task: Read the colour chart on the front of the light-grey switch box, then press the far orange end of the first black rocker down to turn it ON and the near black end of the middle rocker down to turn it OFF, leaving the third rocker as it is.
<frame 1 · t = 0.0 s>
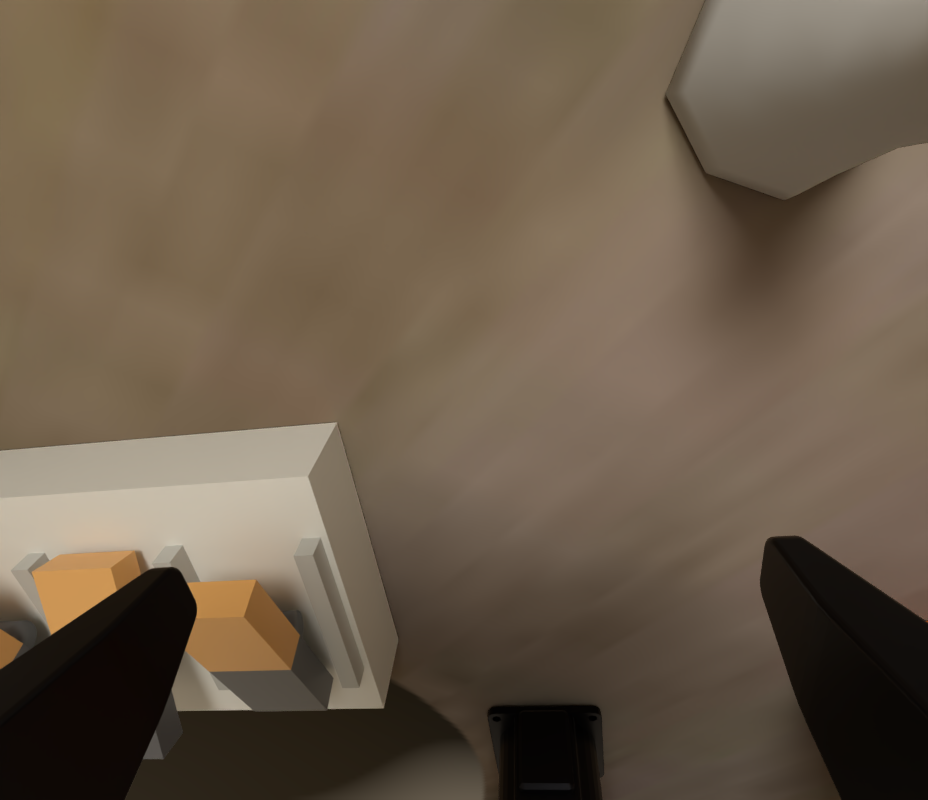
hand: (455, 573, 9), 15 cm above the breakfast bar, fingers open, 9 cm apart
rocker a: (258, 641, 24), point 6 cm above the breakfast bar, hinge at -15.0°
rocker b: (119, 649, 25), point 6 cm above the breakfast bar, hinge at 15.0°
switch box: (185, 553, 30), on the breakfast bar
flask: (789, 70, 18), on the breakfast bar
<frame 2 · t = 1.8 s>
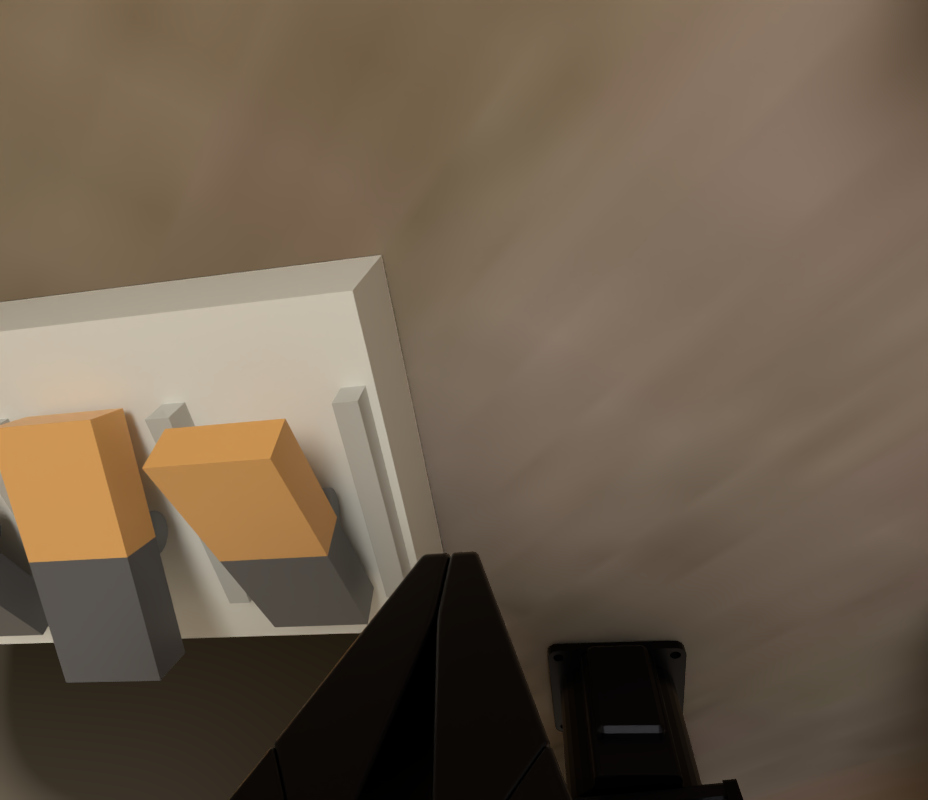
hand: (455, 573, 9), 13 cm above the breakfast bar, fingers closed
rocker a: (283, 525, 18), point 6 cm above the breakfast bar, hinge at -15.0°
rocker b: (104, 542, 19), point 6 cm above the breakfast bar, hinge at 15.0°
switch box: (188, 446, 24), on the breakfast bar
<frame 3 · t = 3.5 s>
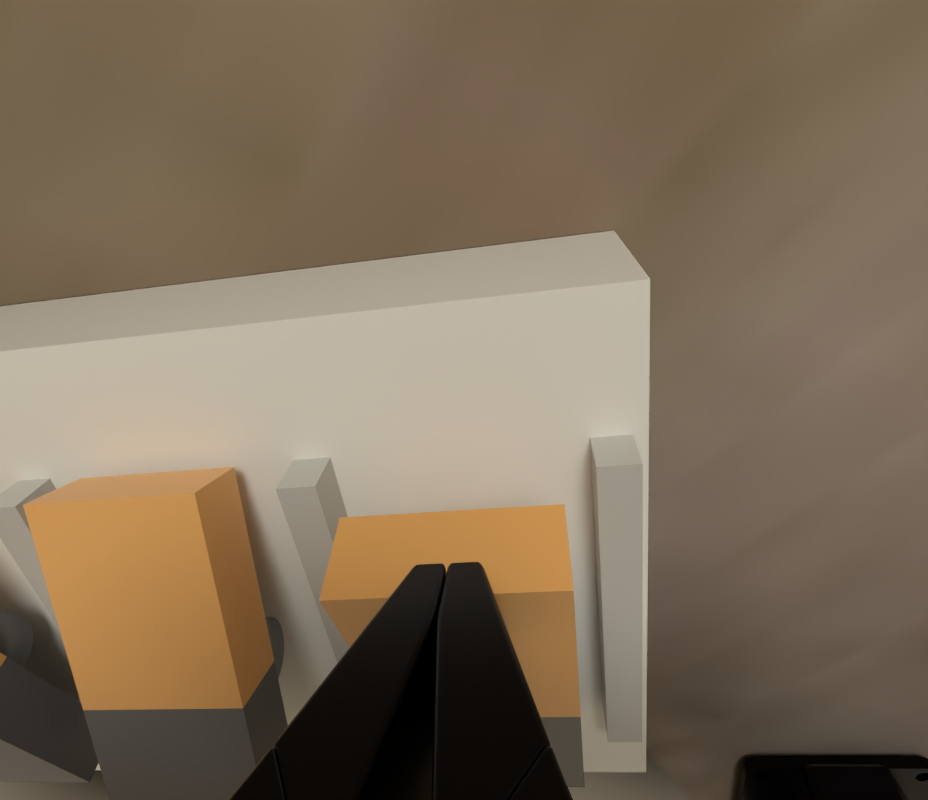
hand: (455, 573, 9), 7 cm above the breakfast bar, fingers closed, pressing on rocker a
rocker a: (486, 653, 12), point 6 cm above the breakfast bar, hinge at -14.7°, touching gripper
rocker b: (195, 668, 13), point 6 cm above the breakfast bar, hinge at 15.0°
switch box: (286, 502, 18), on the breakfast bar
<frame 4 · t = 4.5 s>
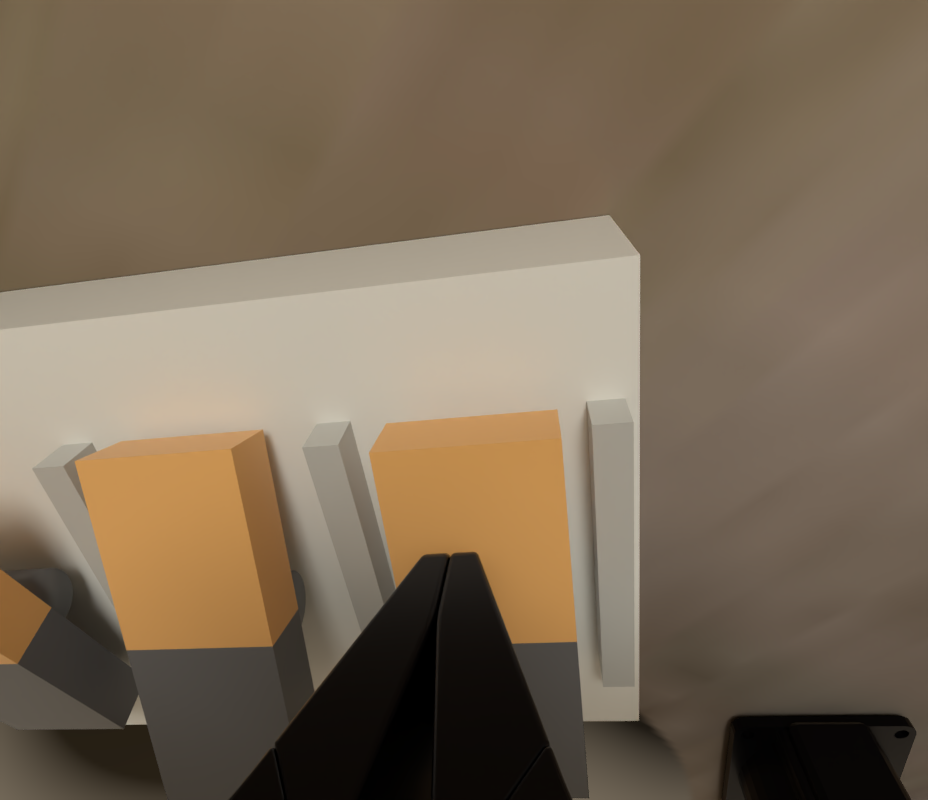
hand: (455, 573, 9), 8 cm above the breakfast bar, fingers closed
rocker a: (493, 604, 13), point 6 cm above the breakfast bar, hinge at 7.8°
rocker b: (226, 616, 14), point 6 cm above the breakfast bar, hinge at 15.0°
switch box: (303, 473, 19), on the breakfast bar
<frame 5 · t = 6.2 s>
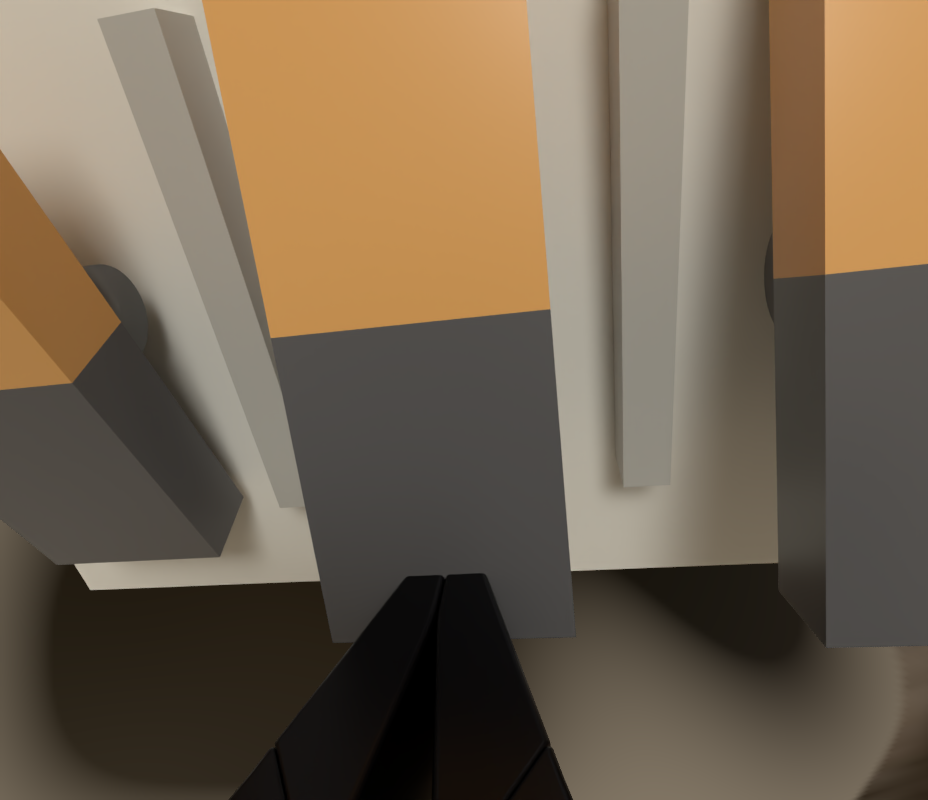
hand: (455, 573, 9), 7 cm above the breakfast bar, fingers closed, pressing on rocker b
rocker a: (927, 262, 7), point 6 cm above the breakfast bar, hinge at 19.0°
rocker c: (13, 341, 9), point 6 cm above the breakfast bar, hinge at -15.0°
rocker b: (423, 312, 8), point 6 cm above the breakfast bar, hinge at 13.7°, touching gripper
switch box: (459, 220, 13), on the breakfast bar
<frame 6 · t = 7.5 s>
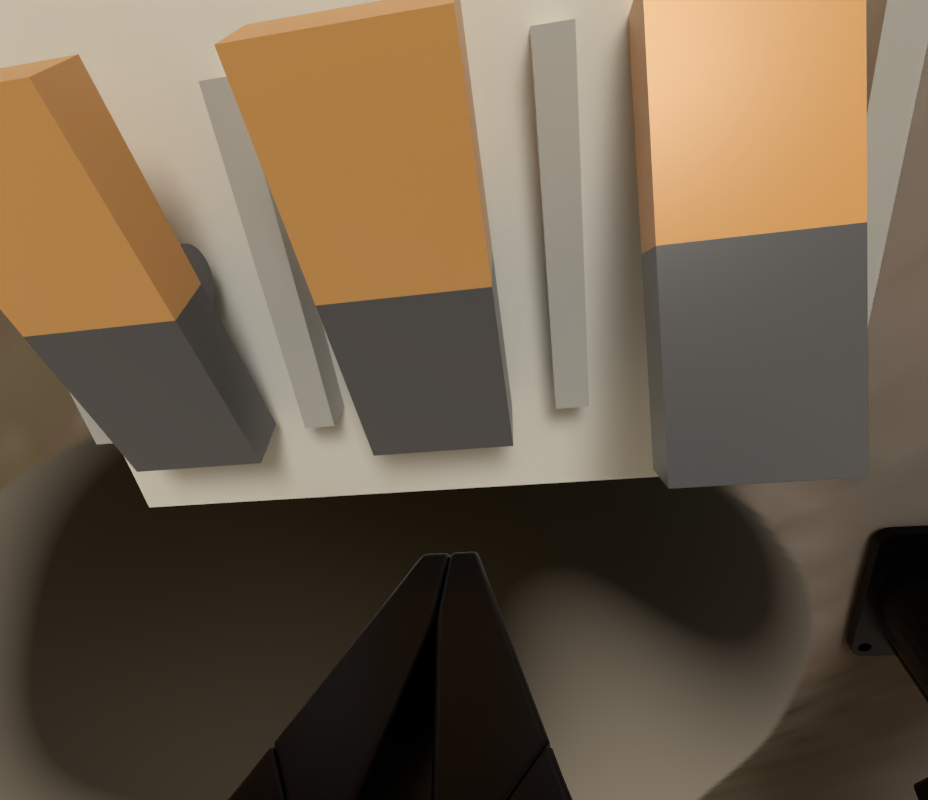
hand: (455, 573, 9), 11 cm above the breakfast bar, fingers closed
rocker a: (735, 243, 11), point 6 cm above the breakfast bar, hinge at 20.4°, touching switch box
rocker c: (125, 296, 13), point 6 cm above the breakfast bar, hinge at -15.0°
rocker b: (408, 264, 12), point 6 cm above the breakfast bar, hinge at -14.9°
switch box: (440, 217, 17), on the breakfast bar
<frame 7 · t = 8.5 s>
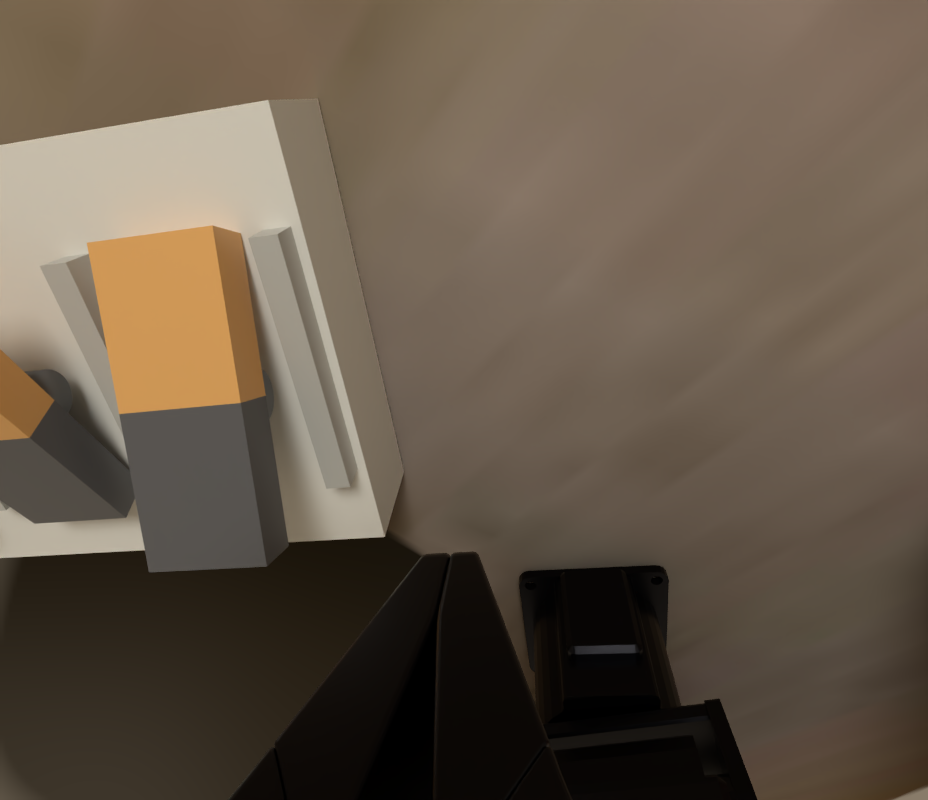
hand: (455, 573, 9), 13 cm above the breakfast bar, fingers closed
rocker a: (204, 401, 16), point 6 cm above the breakfast bar, hinge at 19.9°
switch box: (119, 341, 22), on the breakfast bar
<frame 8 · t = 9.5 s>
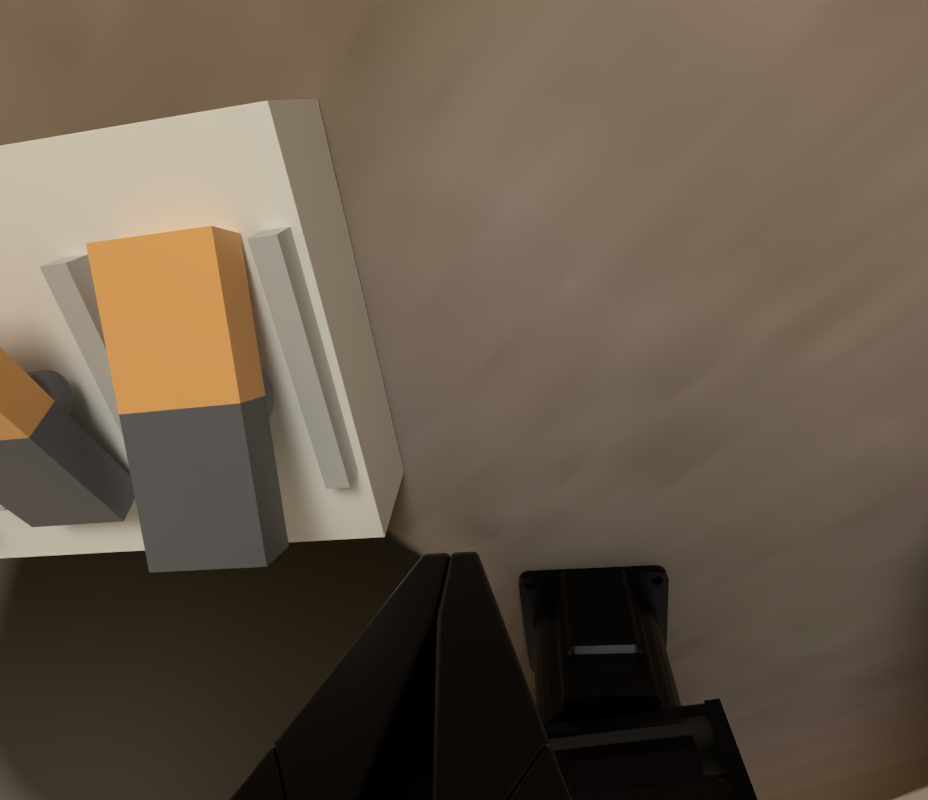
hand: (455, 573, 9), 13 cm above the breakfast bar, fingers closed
rocker a: (204, 402, 16), point 6 cm above the breakfast bar, hinge at 19.7°
switch box: (118, 342, 22), on the breakfast bar
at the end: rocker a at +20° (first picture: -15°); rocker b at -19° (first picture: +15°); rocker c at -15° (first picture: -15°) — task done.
